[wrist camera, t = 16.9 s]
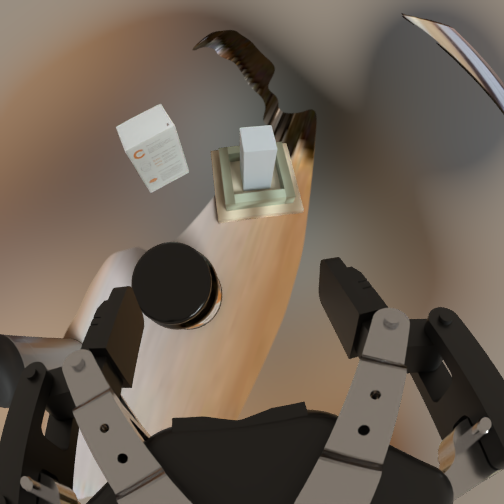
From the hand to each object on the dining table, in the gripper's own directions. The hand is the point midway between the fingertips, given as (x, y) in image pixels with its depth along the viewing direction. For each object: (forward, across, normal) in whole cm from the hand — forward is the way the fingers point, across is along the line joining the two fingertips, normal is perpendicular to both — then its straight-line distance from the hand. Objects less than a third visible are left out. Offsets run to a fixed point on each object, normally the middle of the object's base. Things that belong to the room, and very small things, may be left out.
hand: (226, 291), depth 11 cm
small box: (+41, +10, +2) cm, 43 cm away
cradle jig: (+38, -6, +6) cm, 39 cm away
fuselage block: (+37, -6, +5) cm, 38 cm away
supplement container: (+25, +7, +19) cm, 32 cm away
